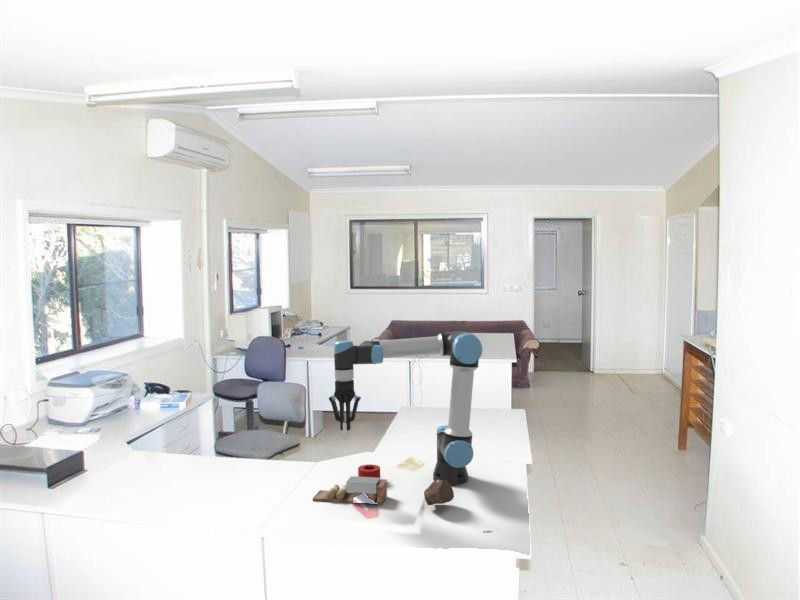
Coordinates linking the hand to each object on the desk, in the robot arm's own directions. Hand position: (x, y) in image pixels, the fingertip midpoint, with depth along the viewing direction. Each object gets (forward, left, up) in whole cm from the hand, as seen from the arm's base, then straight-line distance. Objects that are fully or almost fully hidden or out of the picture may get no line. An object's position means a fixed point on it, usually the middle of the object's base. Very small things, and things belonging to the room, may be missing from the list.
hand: (345, 438), depth 246 cm
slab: (-8, +3, -20) cm, 21 cm away
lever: (-3, -20, -24) cm, 32 cm away
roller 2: (-7, +3, -20) cm, 22 cm away
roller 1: (+5, +3, -20) cm, 21 cm away
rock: (-37, +3, -24) cm, 44 cm away
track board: (-2, +3, -24) cm, 24 cm away
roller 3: (-12, +3, -20) cm, 23 cm away
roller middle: (+1, +3, -20) cm, 20 cm away
